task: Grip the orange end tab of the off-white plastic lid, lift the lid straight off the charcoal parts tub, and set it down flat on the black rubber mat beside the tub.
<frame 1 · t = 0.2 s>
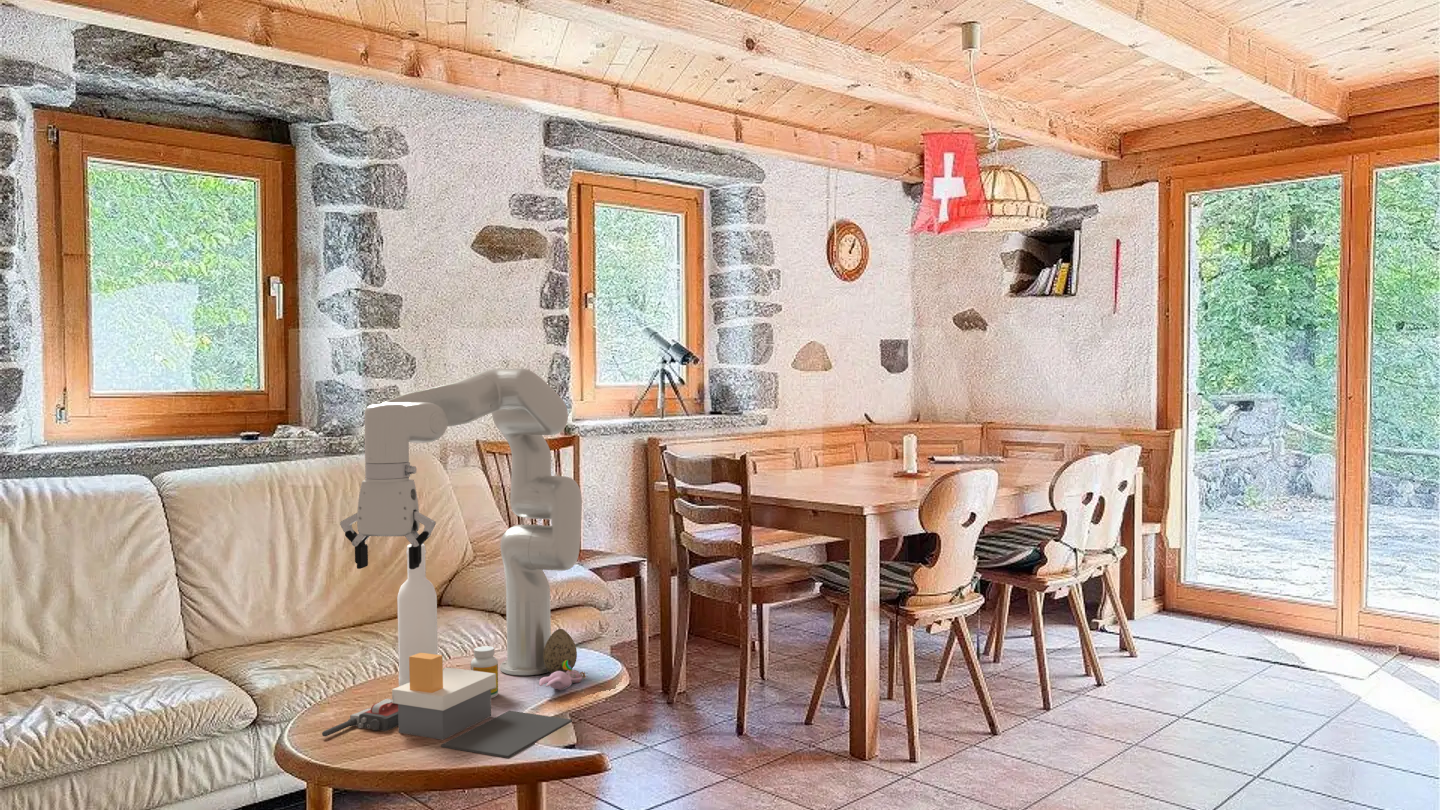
hand: (388, 567, 188), 30 cm above the table, fingers open, 9 cm apart
walkie-talkie: (376, 727, 194), on the table
mat: (508, 733, 188), on the table
rabbit figure: (562, 690, 215), on the table
tub: (446, 724, 194), on the table
supplement bottle: (484, 696, 211), on the table
bottle: (418, 691, 215), on the table
decorative egg: (559, 675, 225), on the table, touching arm
lid: (445, 686, 193), point 7 cm above the table, touching tub
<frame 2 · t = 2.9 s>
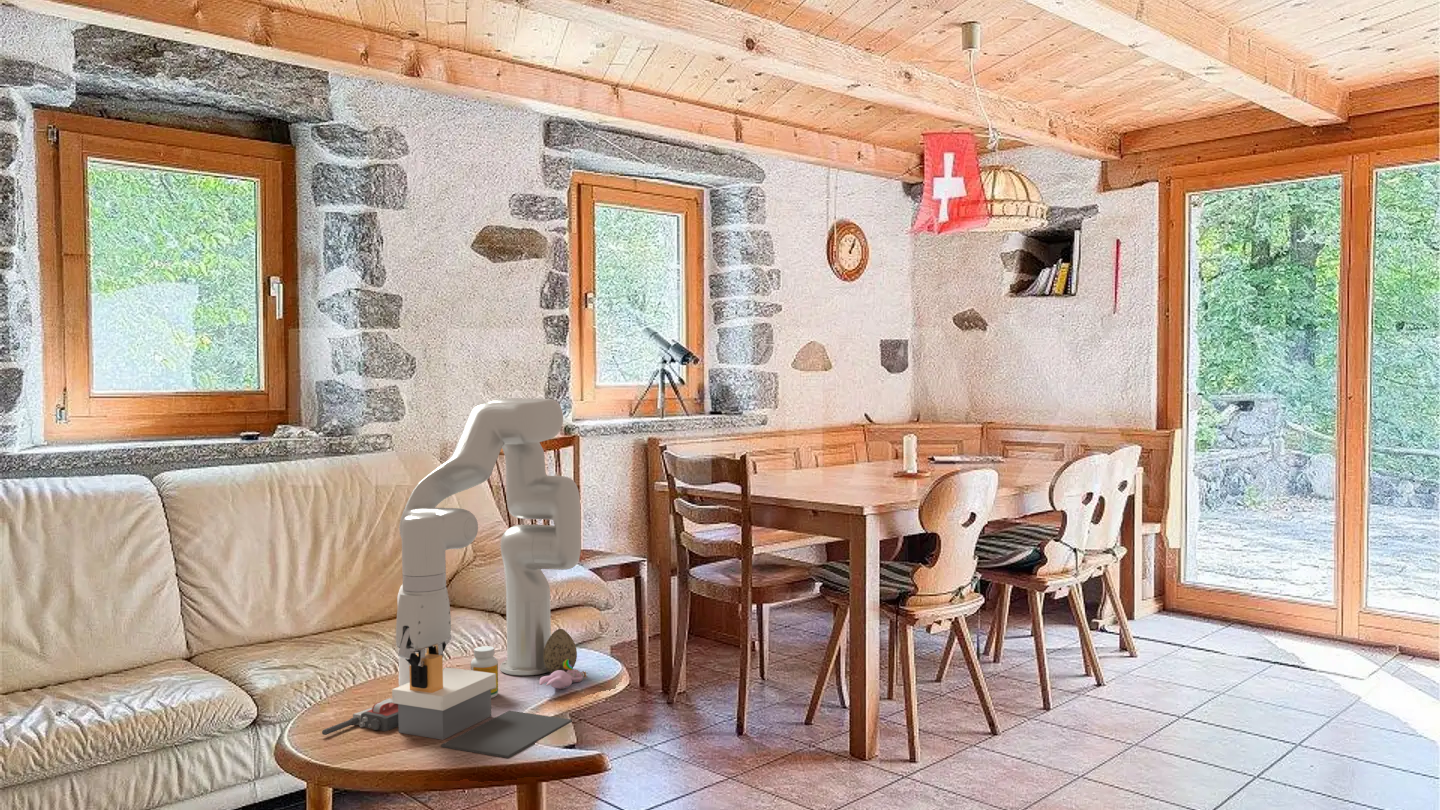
hand: (426, 683, 189), 9 cm above the table, fingers closed on lid, 3 cm apart
lid: (445, 686, 193), point 7 cm above the table, touching gripper, tub
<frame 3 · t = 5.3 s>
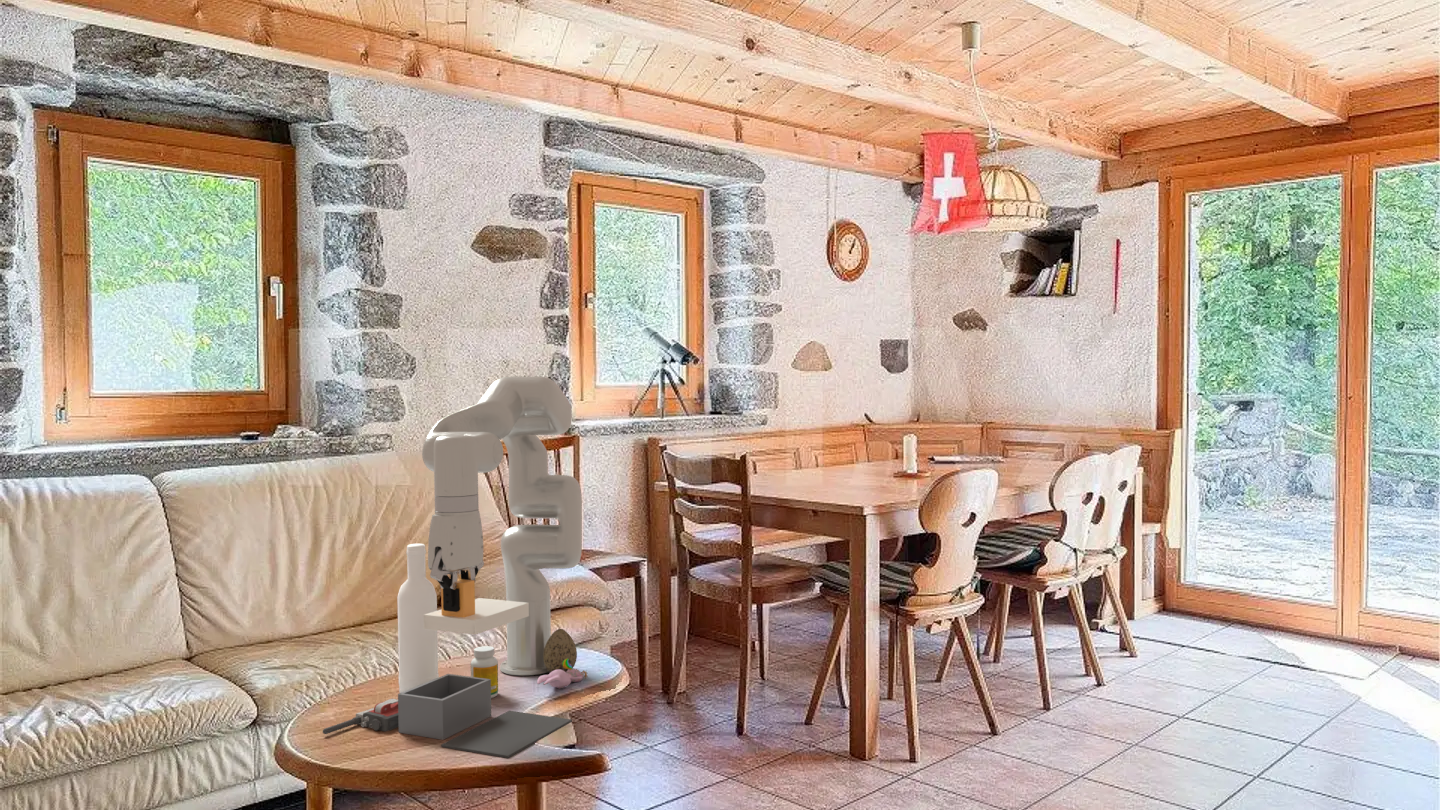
hand: (458, 607, 185), 23 cm above the table, fingers closed on lid, 3 cm apart
lid: (477, 614, 190), point 21 cm above the table, touching gripper
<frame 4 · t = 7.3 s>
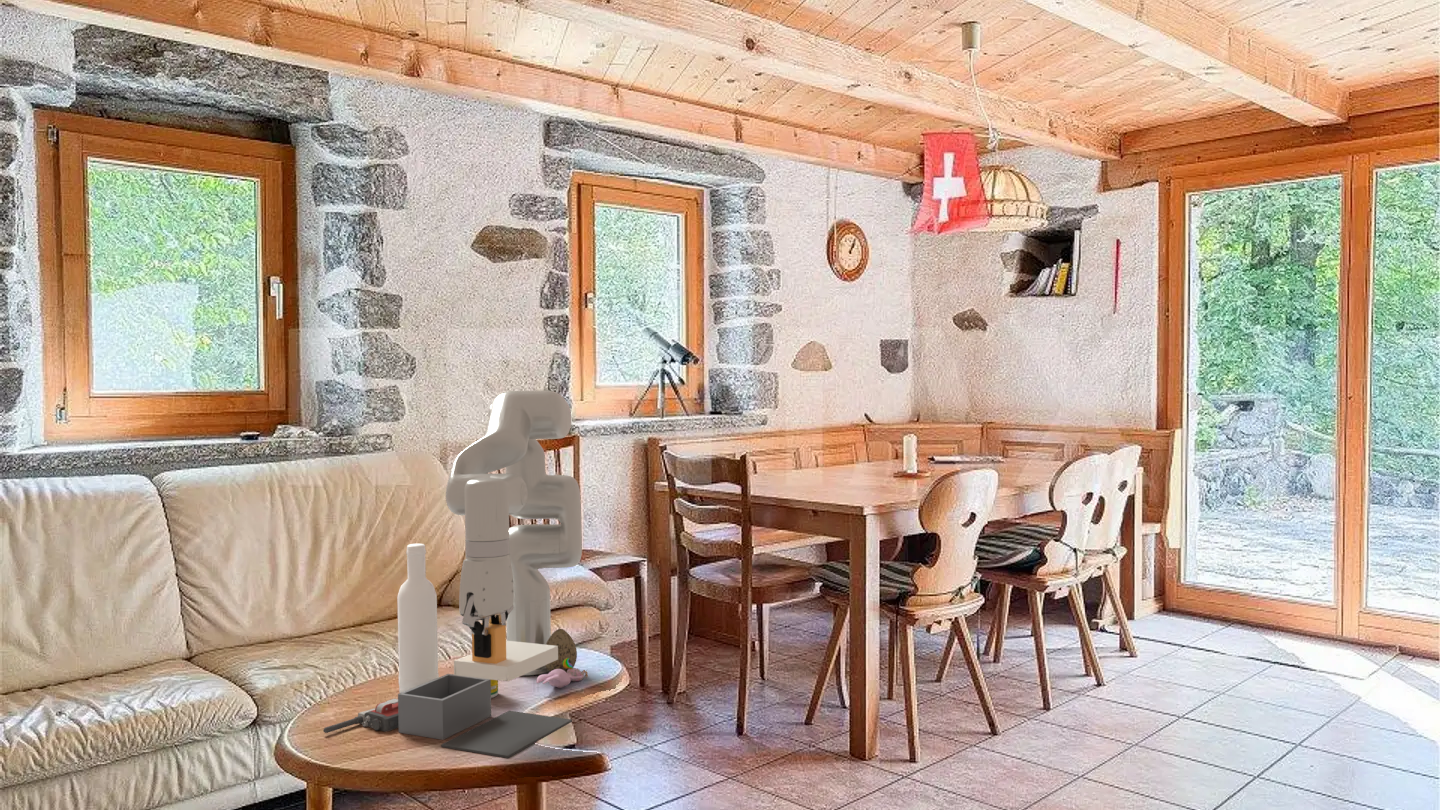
hand: (489, 653, 183), 16 cm above the table, fingers closed on lid, 3 cm apart
lid: (507, 658, 187), point 14 cm above the table, touching gripper
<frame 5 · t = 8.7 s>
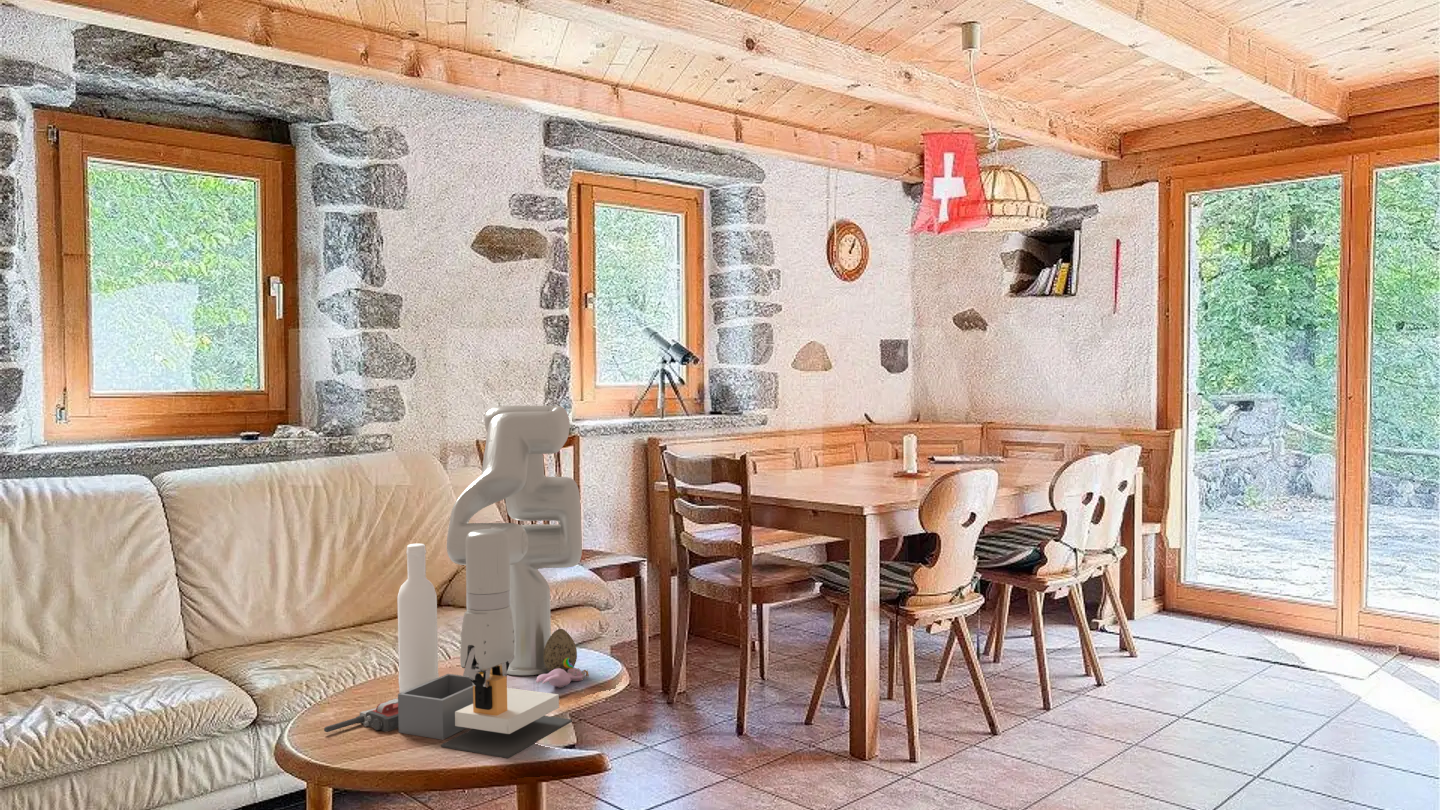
hand: (490, 704, 183), 7 cm above the table, fingers closed on lid, 3 cm apart
lid: (508, 708, 188), point 5 cm above the table, touching gripper
when the fingers open (6 cm above the table, at t = 9.8 s): lid drops 1 cm, resting on mat.
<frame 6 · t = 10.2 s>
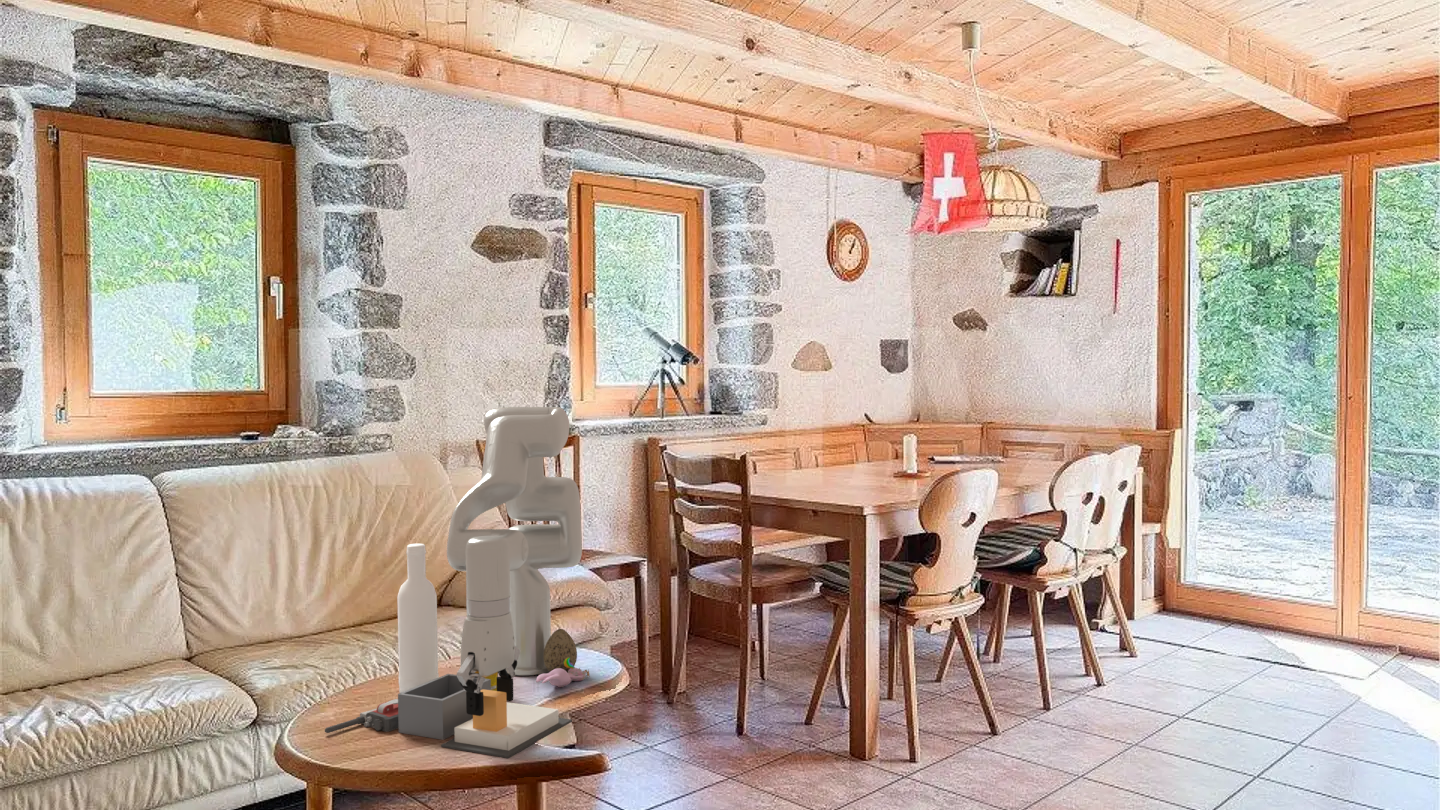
hand: (490, 706, 183), 6 cm above the table, fingers open, 8 cm apart
lid: (507, 723, 188), point 2 cm above the table, touching mat
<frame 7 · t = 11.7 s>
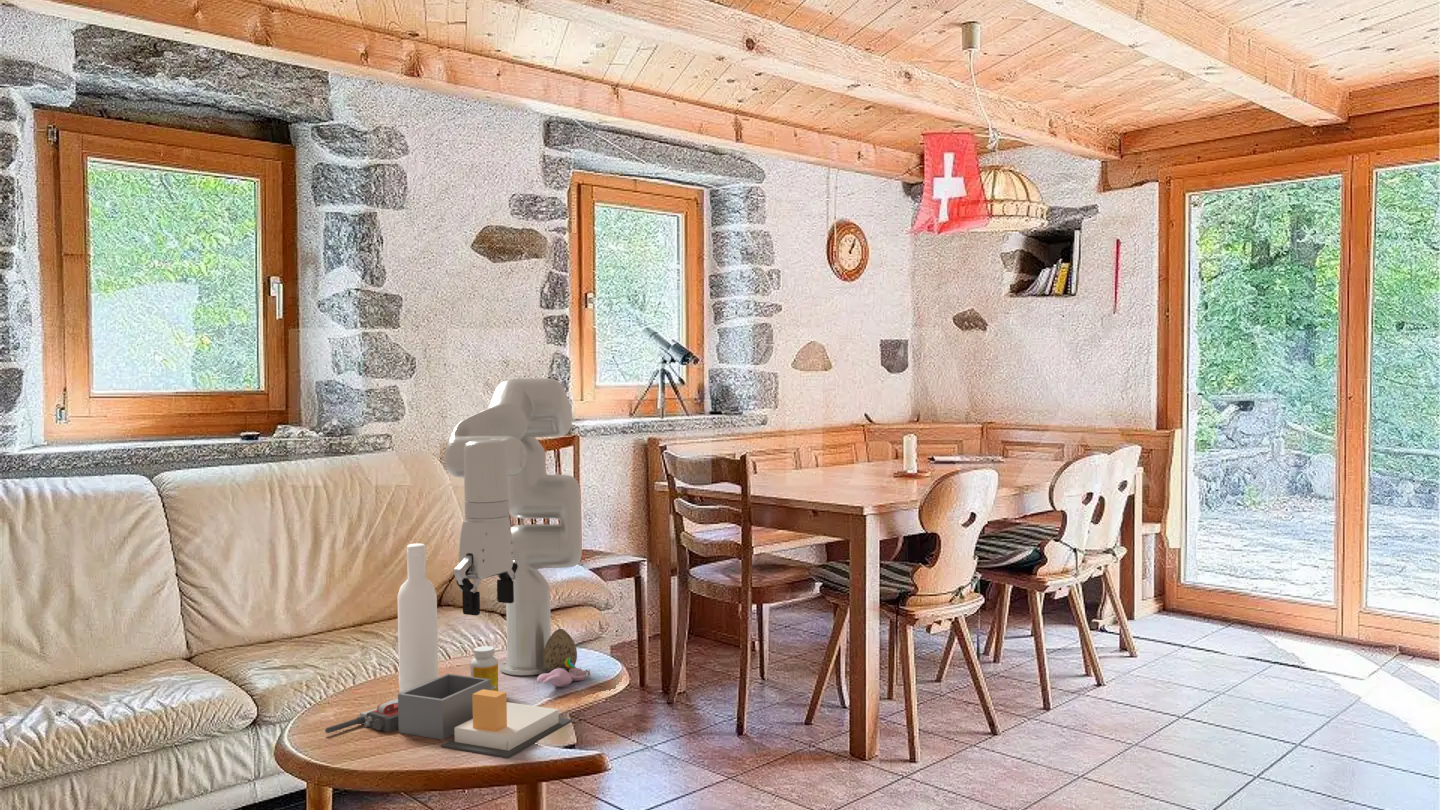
hand: (488, 608, 183), 24 cm above the table, fingers open, 9 cm apart
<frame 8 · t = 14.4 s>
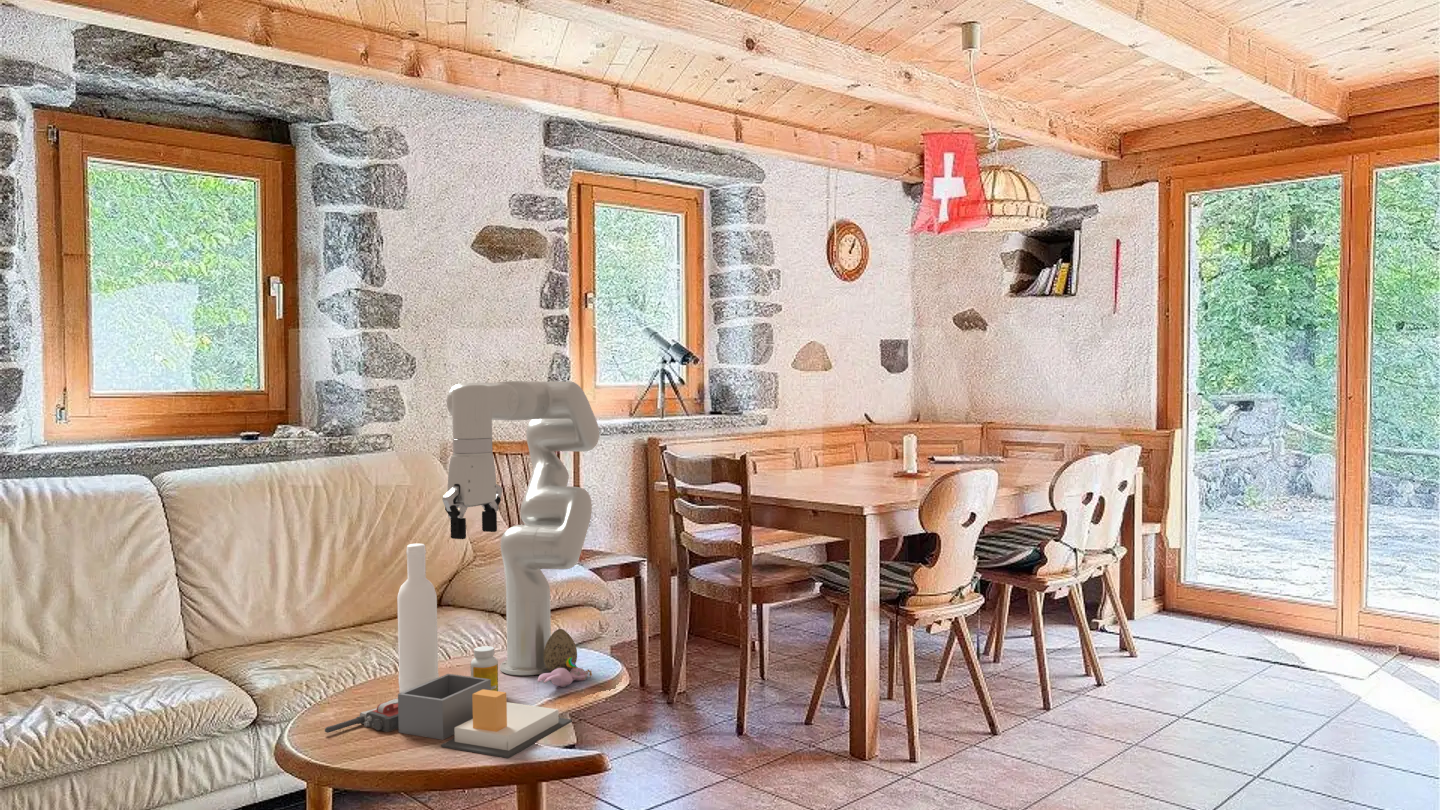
hand: (474, 535, 205), 33 cm above the table, fingers open, 9 cm apart
walkie-talkie: (384, 727, 194), on the table, touching tub
rabbit figure: (564, 686, 217), on the table, touching decorative egg
decorative egg: (560, 676, 225), on the table, touching arm, rabbit figure
everything else where it was.
at the end: lid inside the target area on the mat (0.2 cm from its centre), point 1.9 cm above the mat's base; lid tilted 0°; the gripper is holding nothing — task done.
